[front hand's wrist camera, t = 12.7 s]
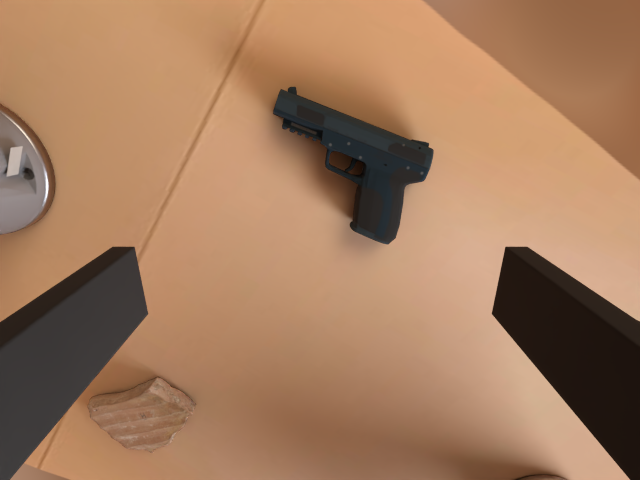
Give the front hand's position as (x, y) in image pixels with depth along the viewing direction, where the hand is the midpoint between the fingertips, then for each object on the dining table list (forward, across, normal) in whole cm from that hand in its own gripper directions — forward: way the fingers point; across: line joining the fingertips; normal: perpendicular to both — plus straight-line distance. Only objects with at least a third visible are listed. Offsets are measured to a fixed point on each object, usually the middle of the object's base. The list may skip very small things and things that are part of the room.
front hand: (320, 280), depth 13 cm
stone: (+29, +26, +36) cm, 53 cm away
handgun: (+29, -2, 0) cm, 29 cm away
